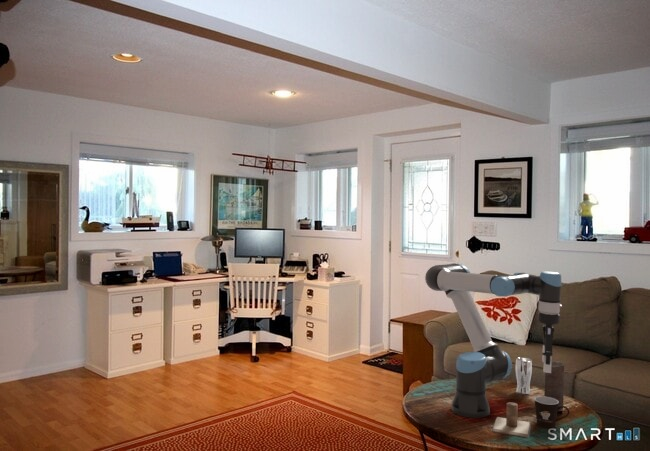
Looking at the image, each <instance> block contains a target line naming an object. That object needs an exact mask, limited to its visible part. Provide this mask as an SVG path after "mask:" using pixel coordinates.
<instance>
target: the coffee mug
mask: <svg viewBox="0 0 650 451" xmlns="http://www.w3.org/2000/svg"><path fill="white" fill-rule="evenodd" d="M533 401H534V407H535V408H534V409H535V416H536V417H535V419H536V425H538V427H540V428H544V429H554V428H555V427H556V423H557V422H558V421H561V420H563V419H565V418H566V417H568V416H569V415H570V409H569V407H567V406H565V405H563V406H560V407H558V404H559V401H558V400H556V399H554V398H551V397H545V396H543V395H542V396H541V395H540V396H539V395H538V396H536V397H534V399H533ZM560 408H563V409H565V410H567V414H565V415H564V416H561V417H559V418H557V417H558V416H557V415H558V412H559V411H558V410H559V409H560Z"/></svg>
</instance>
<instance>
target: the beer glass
mask: <svg viewBox="0 0 650 451" xmlns="http://www.w3.org/2000/svg"><path fill="white" fill-rule="evenodd" d="M532 371H533V363H532V359H531V358H528V357H517V358H516V360H515V377H516V383H517V385H516V390H515V391H516V393H517V394H519V395H530V394H531V388H530V386H531V385H530V384H531V380H532V379H531V378H532V373H533V372H532Z"/></svg>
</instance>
